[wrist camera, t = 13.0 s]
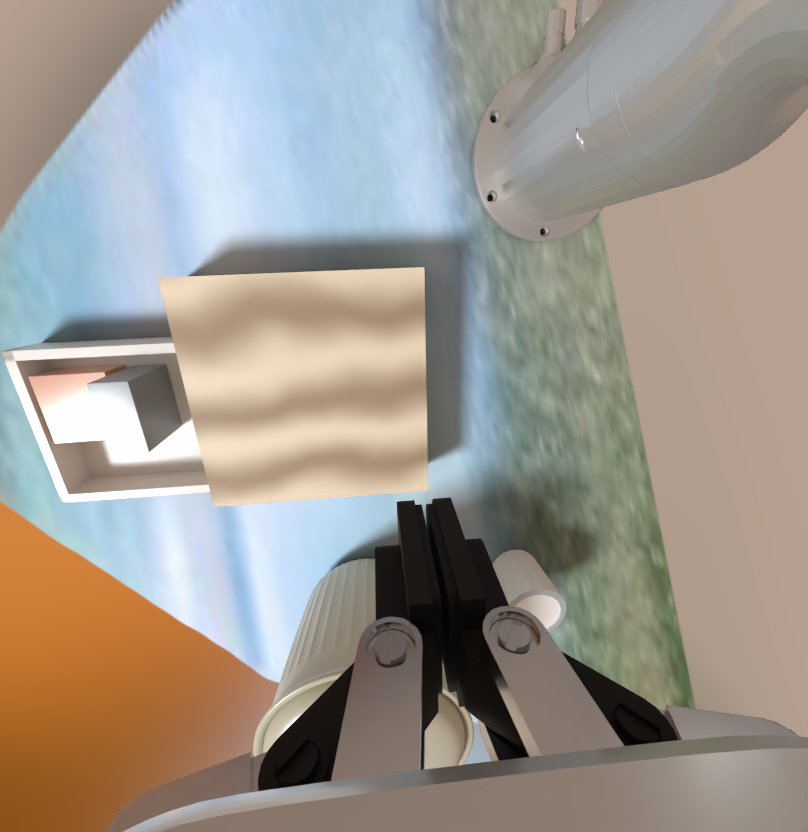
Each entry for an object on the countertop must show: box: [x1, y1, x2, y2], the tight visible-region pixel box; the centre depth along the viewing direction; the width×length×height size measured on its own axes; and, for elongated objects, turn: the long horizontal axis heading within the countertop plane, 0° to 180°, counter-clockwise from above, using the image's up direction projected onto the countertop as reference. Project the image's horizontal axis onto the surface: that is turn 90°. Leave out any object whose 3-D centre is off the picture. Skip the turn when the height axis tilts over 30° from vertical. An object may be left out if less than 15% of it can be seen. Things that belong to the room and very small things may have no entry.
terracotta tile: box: [28, 364, 127, 443], centre depth 34 cm, size 6×6×3 cm
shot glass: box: [492, 550, 567, 633], centre depth 44 cm, size 7×7×7 cm
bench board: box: [158, 267, 428, 507], centre depth 35 cm, size 20×20×5 cm
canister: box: [253, 558, 474, 769], centre depth 38 cm, size 18×18×21 cm
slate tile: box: [87, 364, 182, 455], centre depth 33 cm, size 6×6×3 cm
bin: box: [1, 336, 210, 503], centre depth 35 cm, size 14×14×4 cm
